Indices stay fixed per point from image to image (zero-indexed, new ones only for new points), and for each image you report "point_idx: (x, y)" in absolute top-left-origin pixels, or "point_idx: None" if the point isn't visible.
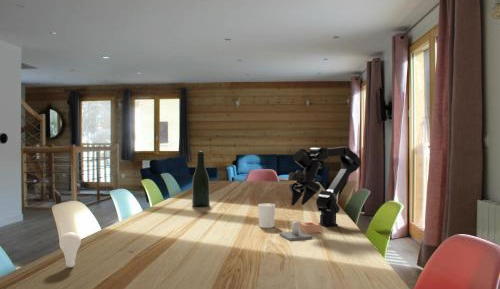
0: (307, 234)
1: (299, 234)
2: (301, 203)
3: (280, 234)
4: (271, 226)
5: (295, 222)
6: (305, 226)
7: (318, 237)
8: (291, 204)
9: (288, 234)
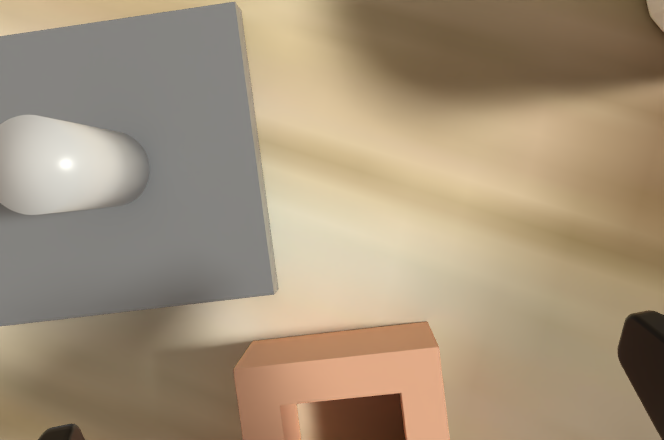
0: (83, 302)
1: (99, 212)
2: (47, 431)
3: (205, 10)
4: (655, 8)
5: (7, 156)
6: (259, 363)
7: (55, 402)
8: (645, 312)
9: (125, 85)
